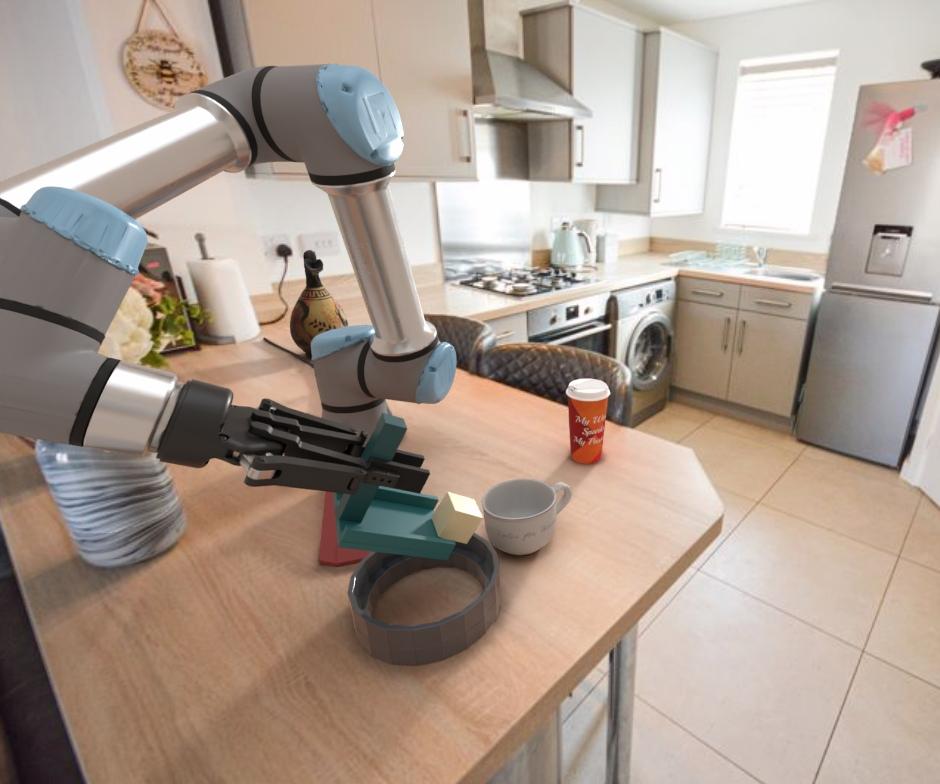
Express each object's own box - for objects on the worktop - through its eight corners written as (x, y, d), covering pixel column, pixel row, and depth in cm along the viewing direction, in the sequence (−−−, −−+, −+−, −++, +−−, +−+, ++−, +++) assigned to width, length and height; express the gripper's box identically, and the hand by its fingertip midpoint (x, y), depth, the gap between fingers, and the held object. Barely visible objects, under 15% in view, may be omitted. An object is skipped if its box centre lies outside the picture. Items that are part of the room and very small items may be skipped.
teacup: (494, 574, 70) (491, 526, 67) (477, 527, 79) (474, 483, 76) (587, 548, 75) (589, 503, 72) (561, 508, 84) (561, 466, 81)
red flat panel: (416, 571, 75) (405, 466, 95) (412, 547, 72) (402, 444, 92) (324, 591, 71) (334, 477, 91) (317, 567, 68) (329, 455, 88)
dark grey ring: (328, 616, 62) (319, 578, 60) (444, 545, 75) (440, 511, 73) (411, 700, 53) (405, 658, 50) (528, 602, 65) (527, 565, 63)
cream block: (438, 537, 60) (455, 510, 60) (431, 517, 64) (447, 491, 63) (466, 544, 63) (483, 518, 62) (458, 524, 66) (474, 499, 65)
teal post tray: (337, 547, 52) (390, 439, 50) (332, 493, 59) (378, 397, 57) (447, 560, 59) (497, 466, 57) (430, 510, 67) (474, 426, 64)
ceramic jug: (357, 357, 151) (341, 253, 140) (299, 366, 143) (277, 256, 131) (345, 342, 164) (330, 246, 152) (291, 350, 156) (270, 248, 144)
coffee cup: (576, 470, 95) (578, 396, 89) (558, 451, 102) (558, 381, 96) (615, 461, 99) (619, 389, 93) (595, 442, 106) (597, 374, 100)
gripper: (171, 414, 51) (397, 465, 65) (130, 505, 39) (420, 545, 53) (197, 349, 50) (422, 415, 64) (163, 421, 38) (452, 484, 51)
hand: (421, 474), depth 58 cm, fingers closed on teal post tray, 2 cm apart
